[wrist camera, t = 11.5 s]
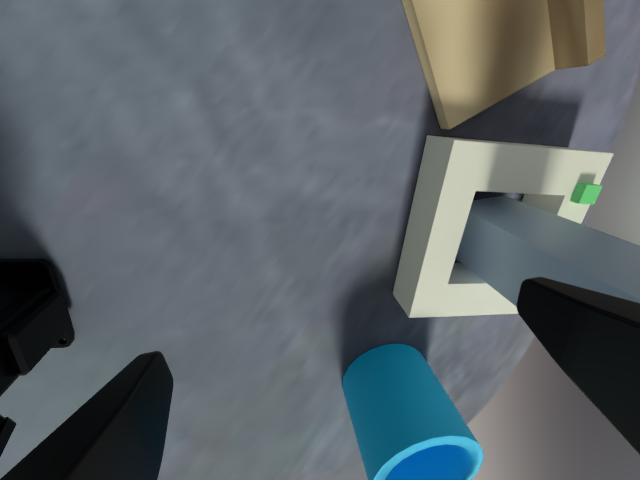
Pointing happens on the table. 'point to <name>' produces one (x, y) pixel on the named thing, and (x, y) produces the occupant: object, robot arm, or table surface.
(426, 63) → the tan base plate
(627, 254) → the plug
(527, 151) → the block
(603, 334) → the robot arm
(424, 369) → the mug
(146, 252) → the table surface
